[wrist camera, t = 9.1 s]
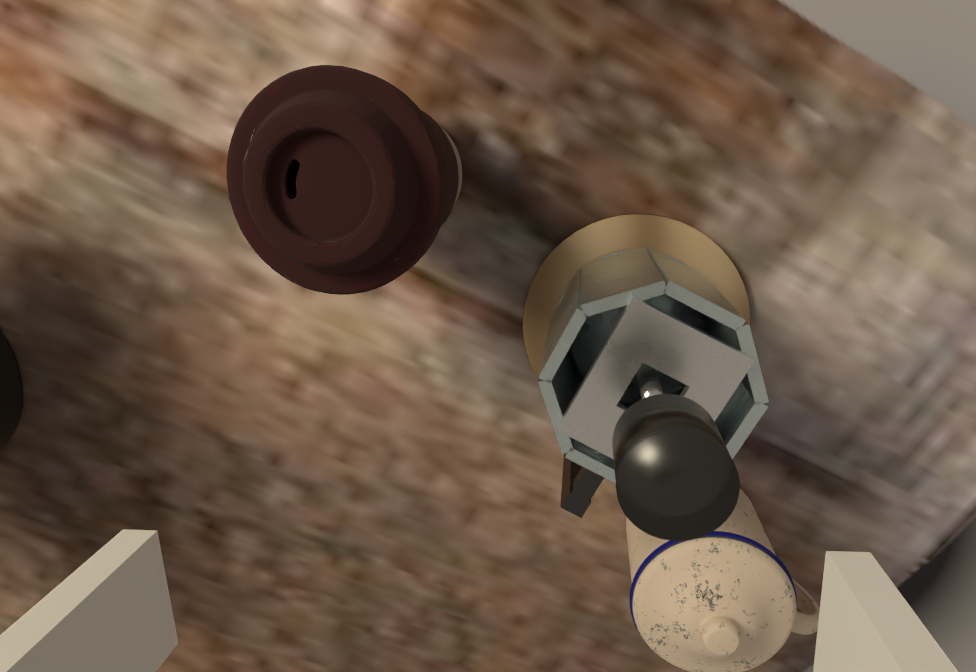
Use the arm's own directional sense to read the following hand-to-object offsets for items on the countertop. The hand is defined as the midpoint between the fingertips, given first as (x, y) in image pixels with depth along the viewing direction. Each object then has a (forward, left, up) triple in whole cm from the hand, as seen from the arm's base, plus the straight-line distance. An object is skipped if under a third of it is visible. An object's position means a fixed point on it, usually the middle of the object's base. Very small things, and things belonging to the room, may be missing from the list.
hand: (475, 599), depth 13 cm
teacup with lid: (+10, -17, -32) cm, 38 cm away
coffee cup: (-9, +7, -32) cm, 34 cm away
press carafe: (+4, -4, -31) cm, 31 cm away
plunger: (+5, -3, -28) cm, 29 cm away
